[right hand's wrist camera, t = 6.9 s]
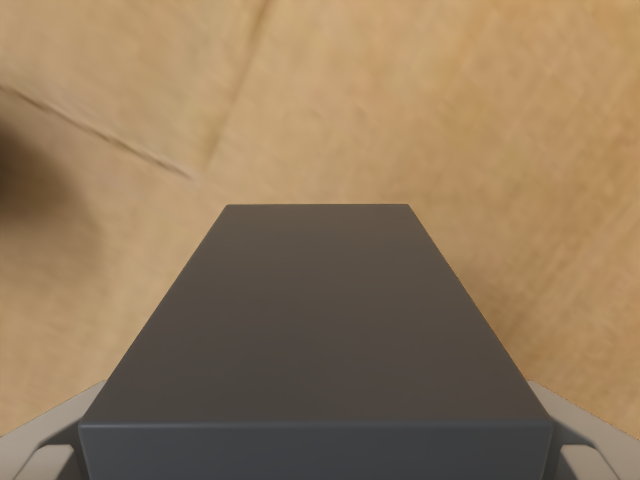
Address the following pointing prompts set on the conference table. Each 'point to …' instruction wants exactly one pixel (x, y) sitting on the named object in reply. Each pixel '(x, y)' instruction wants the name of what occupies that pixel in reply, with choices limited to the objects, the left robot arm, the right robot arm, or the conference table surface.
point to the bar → (316, 362)
